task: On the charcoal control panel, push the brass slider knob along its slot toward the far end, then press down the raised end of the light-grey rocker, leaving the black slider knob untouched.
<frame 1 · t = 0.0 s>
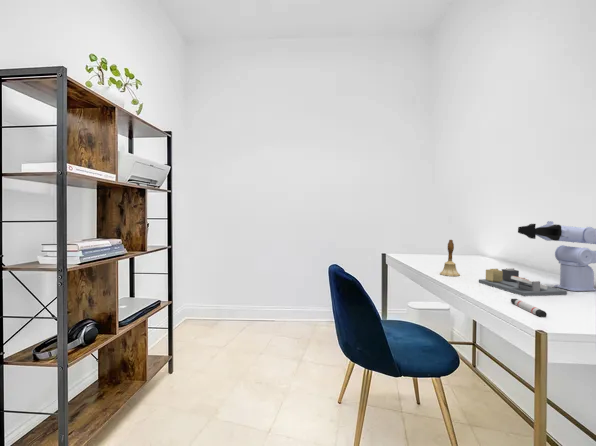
hand: (527, 230, 116), 22 cm above the table, tool horizontal, fingers open, 7 cm apart
rocker: (528, 282, 113), point 4 cm above the table, hinge at -18.0°
black slider: (510, 274, 128), point 4 cm above the table, slide at 0.0 cm
brass slider: (494, 274, 127), point 4 cm above the table, slide at 0.0 cm
hand bell: (449, 275, 147), on the table
marker: (525, 310, 94), on the table
panel: (519, 287, 121), on the table
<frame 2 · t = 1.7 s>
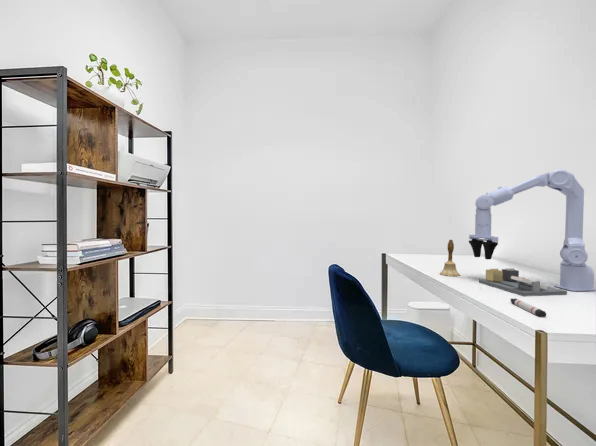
hand: (482, 258, 133), 9 cm above the table, tool pointing down, fingers open, 6 cm apart
nothing on the table moved.
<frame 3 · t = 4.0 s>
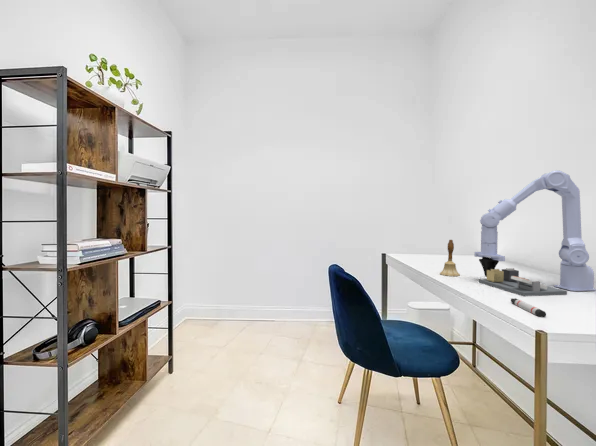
hand: (488, 276, 130), 2 cm above the table, tool pointing down, fingers closed
brass slider: (495, 274, 126), point 4 cm above the table, slide at 0.6 cm, touching gripper
everything else where it was.
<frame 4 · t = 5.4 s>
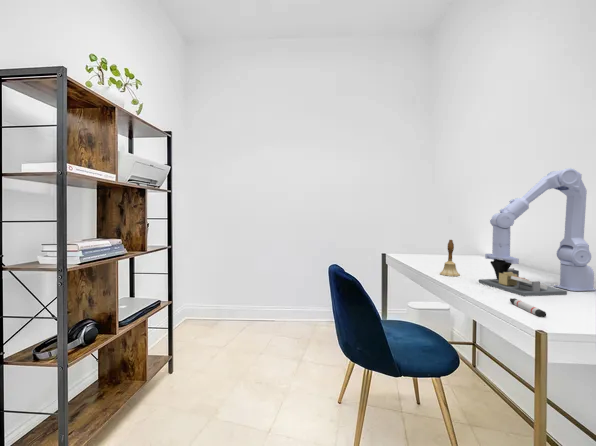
hand: (500, 280, 124), 2 cm above the table, tool pointing down, fingers closed
brass slider: (507, 278, 120), point 4 cm above the table, slide at 7.0 cm, touching gripper
everything else where it was.
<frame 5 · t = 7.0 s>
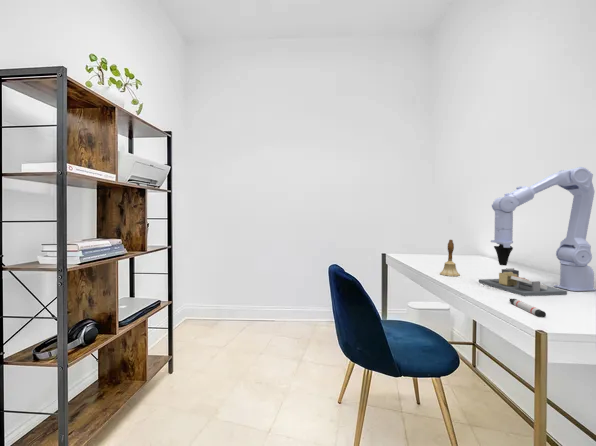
hand: (502, 265, 122), 8 cm above the table, tool pointing down, fingers closed
brass slider: (507, 278, 120), point 4 cm above the table, slide at 7.0 cm
everything else where it was.
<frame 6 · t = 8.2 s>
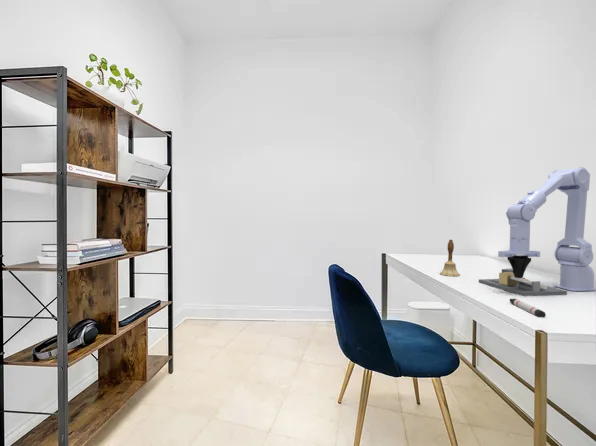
hand: (518, 277, 113), 5 cm above the table, tool pointing down, fingers closed, pressing on rocker
rocker: (528, 282, 113), point 4 cm above the table, hinge at -17.5°, touching gripper
everything else where it was.
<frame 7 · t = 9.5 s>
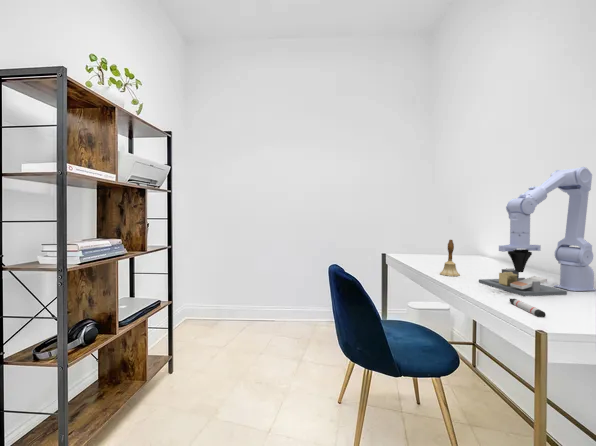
hand: (519, 271, 113), 7 cm above the table, tool pointing down, fingers closed
rocker: (528, 282, 113), point 4 cm above the table, hinge at 13.6°
everything else where it was.
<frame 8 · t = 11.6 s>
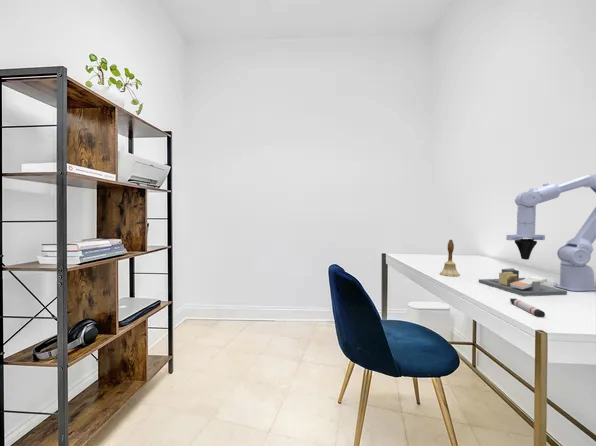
hand: (525, 259, 123), 10 cm above the table, tool pointing down, fingers closed
nothing on the table moved.
at the end: brass slider slide at 7.0 cm; rocker at +14° (first picture: -18°); black slider slide at 0.0 cm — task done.
